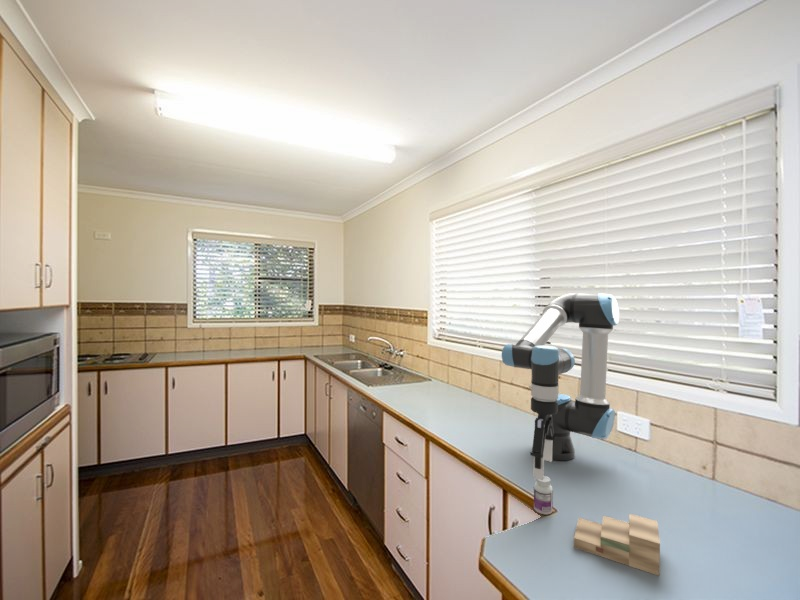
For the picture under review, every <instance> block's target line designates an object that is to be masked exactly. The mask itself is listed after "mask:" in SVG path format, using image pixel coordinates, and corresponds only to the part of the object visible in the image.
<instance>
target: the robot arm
mask: <svg viewBox="0 0 800 600" xmlns="http://www.w3.org/2000/svg"><path fill="white" fill-rule="evenodd" d="M541 313H542V314H541V315H540V317H539V318H538V319H537V320H536V321H535V322H534V324H532V325H531V327H530V328H528V330H527V332H525V334H523V336H522V337H521V338H520V339H519V340H518V341H517V342H516V343H515V344H513V343H511V344H510V343H509V344H505V345H504V346H503V348H502V350H501V360H502V364H503V365H505V366H508V367H513V368H517V369H518V368H519V369H526V370H531V381H530V382H531V383H530V385H529V389H530V391H531V393H530V395H531V398H530V410H531V412H534V413H536V414H537V417H536V418H535V420H534V431H533V439H532V440H533V441H532V450H531V452H529V453H530V456H532V457H533V461H532V462H533V463H532V464H533V466H532V478H533V479H535V480H536V479H540V480H543V479H544V476H545V475H544V474H545V473H544V472H545V461H547V462H551V463H552V462H553V461H569V460H573V459H574V458H575V457H576V456H575V455H576V454H575V452H576V451H575V450H576V449H575V447H574V443H573V440H572V437H571V433H574V434H578V435H582V436H586V437H591V438H592V439H598V440H606V439H608V438H609V436H610V435H611V433H612V431H613V428H614V424H615V420H616V419H615V418H616V414H615V413H616V411H615V410H614V409H613V408H611V407H610V401H608V399H607V398H606V390H607V389H606V388H607V369H608V367H607V366H608V349H609V348H608V341H609V334H610V333H611V332H612V331H613V330H614V326H617V325H618V324H619V323H620V309H619V304H618V301H617V299H616V297H615V296H614V295H613V294H609V293H567V294H564V295H562V296H559V297H557V298H555V299H553V300H552V301H550V302H549V303H548V304H547V305H546V306H544V308H543V310H542V312H541ZM567 323H575V324H578V329H579V330H580V331H581V332H582V343H581V345H582V346H581V366H580V367H581V369H580V383H579V384H580V387H579V388H580V389H579V394H578V395H577V396H576V397H575V400H574V401H573V400H572V398H571V396H570V395H568V394H563V393H562V394H561V393H559V376H560V375H562V374H565V373H568V372H569V371H571V370H572V368H573V369H574V366H575V363H576V359H575V356H574V353H572V352H571V351H570V350H569V349H568V348H567V349H566V348H558V347H557V346H554V345H546V344H547V342H549V340H550V339H551V337H552V336H553V335H554V334H555V333H556V331H557V330H558V329H559V328H561V327H563V326H564V325H565V324H567Z"/></svg>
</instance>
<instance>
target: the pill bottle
mask: <svg viewBox="0 0 800 600" xmlns="http://www.w3.org/2000/svg"><path fill="white" fill-rule="evenodd" d="M553 503H554V489H553V486H552V485H551V478H550V477H548V476H547V475H544V479H543V480H540V479H536V478H535V483H534V484H533V509H534V511H536V513H539V514H541V515H545V516H546V515H550V514H552V513H553V511H554V509H553V508H554V506H553Z"/></svg>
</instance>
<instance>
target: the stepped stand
mask: <svg viewBox="0 0 800 600" xmlns="http://www.w3.org/2000/svg"><path fill="white" fill-rule="evenodd" d="M628 519H629V520H628V521H629V522H627V521H624V520H621V519H616V518H613V517H610V516H606V515H603V516H602V523H599V522H594V521H592V520H589V519H585V518H581V517H578V519H577V524H576V528H575V532H574V535H573V536H574V537H573V548H574V549H578V550H579V551H580V550H581V551H583V552H586V553H590V554H592V555H596V556H599V557H601V558H604V559H607V560H611V561H614V562H617V563H620V564H622V565H626V566H629V567H631V568H634V569H638V570H641V571H643V572H647V573H650V574H652V575H656V576H658V577H660V559H661V558H660V555H661V554H660V553H661V542H660V534H659V533H660V531H659V524H658V523H659V522H658V520H654V519H651V518H647V517H644V516H640V515H636V514H631V513H629V518H628Z"/></svg>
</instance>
